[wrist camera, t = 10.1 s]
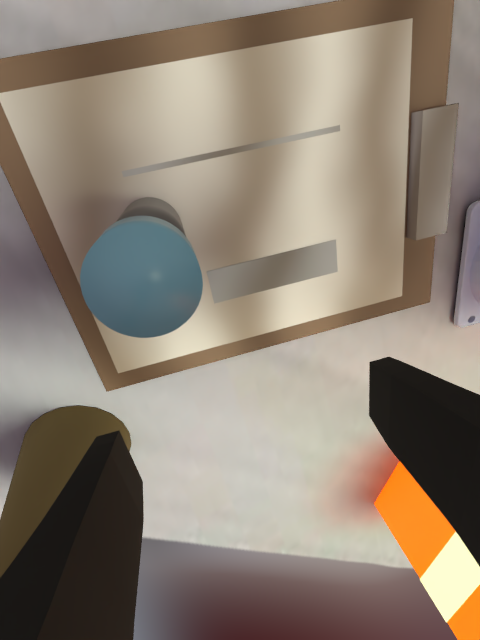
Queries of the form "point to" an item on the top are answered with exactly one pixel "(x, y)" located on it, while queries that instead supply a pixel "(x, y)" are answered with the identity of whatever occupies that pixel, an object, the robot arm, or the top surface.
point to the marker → (143, 272)
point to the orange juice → (433, 552)
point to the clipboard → (245, 168)
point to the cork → (48, 469)
